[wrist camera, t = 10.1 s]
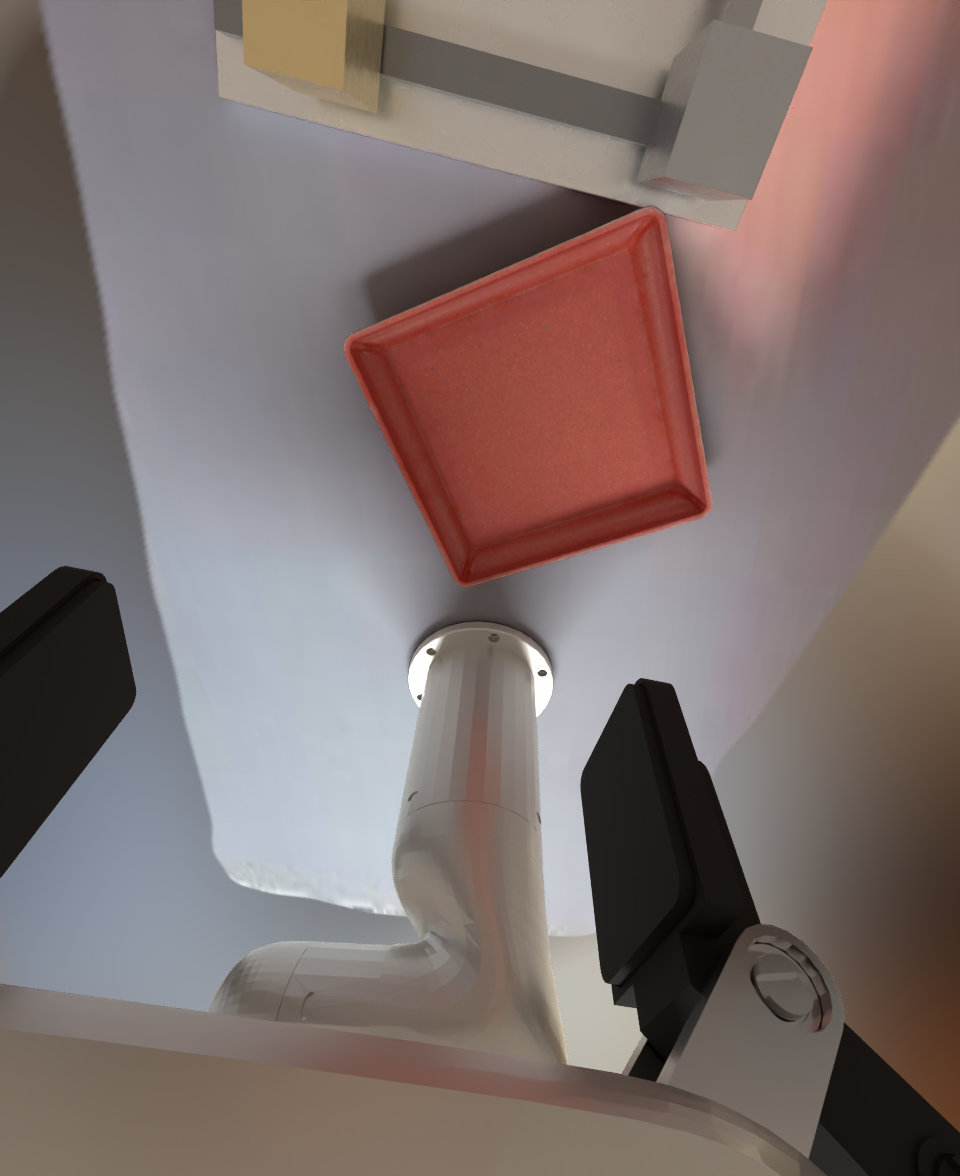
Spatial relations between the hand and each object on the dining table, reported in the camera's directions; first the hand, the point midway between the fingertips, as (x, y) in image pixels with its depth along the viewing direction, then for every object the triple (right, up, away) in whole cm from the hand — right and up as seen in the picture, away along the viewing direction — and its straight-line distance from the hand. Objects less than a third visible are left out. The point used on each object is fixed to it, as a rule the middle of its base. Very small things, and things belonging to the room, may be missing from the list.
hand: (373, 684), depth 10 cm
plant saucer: (+6, +13, +26) cm, 29 cm away
